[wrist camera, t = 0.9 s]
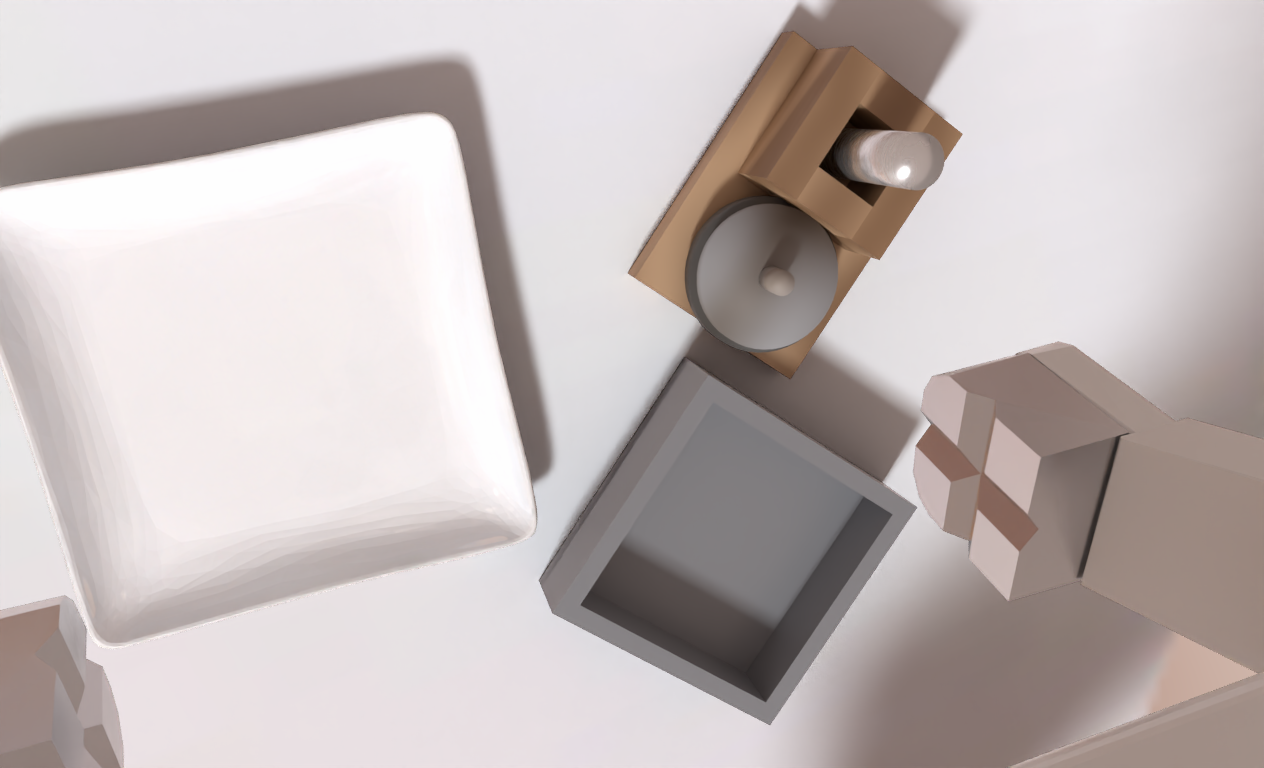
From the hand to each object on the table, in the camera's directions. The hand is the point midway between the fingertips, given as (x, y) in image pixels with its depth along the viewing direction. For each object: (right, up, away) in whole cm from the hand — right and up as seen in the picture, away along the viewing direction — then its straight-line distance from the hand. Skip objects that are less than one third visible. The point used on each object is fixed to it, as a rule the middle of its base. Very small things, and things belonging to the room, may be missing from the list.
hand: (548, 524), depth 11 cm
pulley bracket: (+8, +10, +47) cm, 49 cm away
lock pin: (+11, +13, +45) cm, 48 cm away
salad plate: (-16, +2, +43) cm, 46 cm away
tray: (+5, -7, +51) cm, 51 cm away
